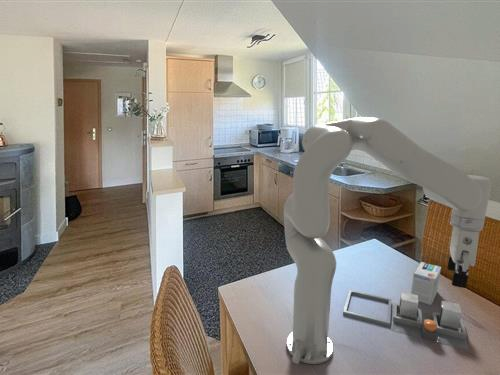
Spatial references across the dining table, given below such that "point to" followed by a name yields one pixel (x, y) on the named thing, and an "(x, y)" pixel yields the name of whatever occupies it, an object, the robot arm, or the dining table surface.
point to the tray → (368, 316)
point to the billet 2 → (449, 315)
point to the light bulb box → (426, 282)
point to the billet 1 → (408, 306)
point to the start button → (430, 325)
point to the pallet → (439, 337)
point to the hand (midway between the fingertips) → (455, 277)
